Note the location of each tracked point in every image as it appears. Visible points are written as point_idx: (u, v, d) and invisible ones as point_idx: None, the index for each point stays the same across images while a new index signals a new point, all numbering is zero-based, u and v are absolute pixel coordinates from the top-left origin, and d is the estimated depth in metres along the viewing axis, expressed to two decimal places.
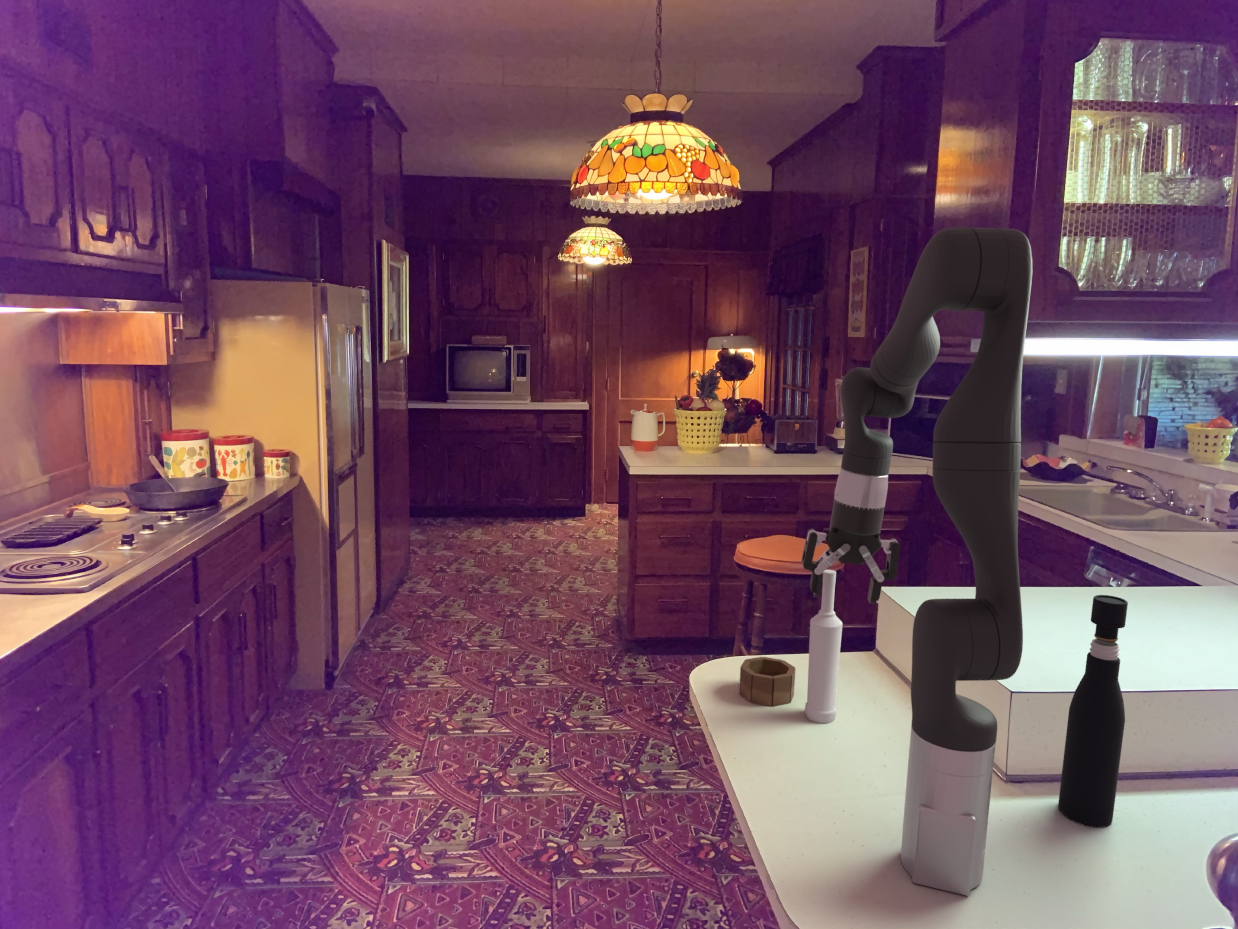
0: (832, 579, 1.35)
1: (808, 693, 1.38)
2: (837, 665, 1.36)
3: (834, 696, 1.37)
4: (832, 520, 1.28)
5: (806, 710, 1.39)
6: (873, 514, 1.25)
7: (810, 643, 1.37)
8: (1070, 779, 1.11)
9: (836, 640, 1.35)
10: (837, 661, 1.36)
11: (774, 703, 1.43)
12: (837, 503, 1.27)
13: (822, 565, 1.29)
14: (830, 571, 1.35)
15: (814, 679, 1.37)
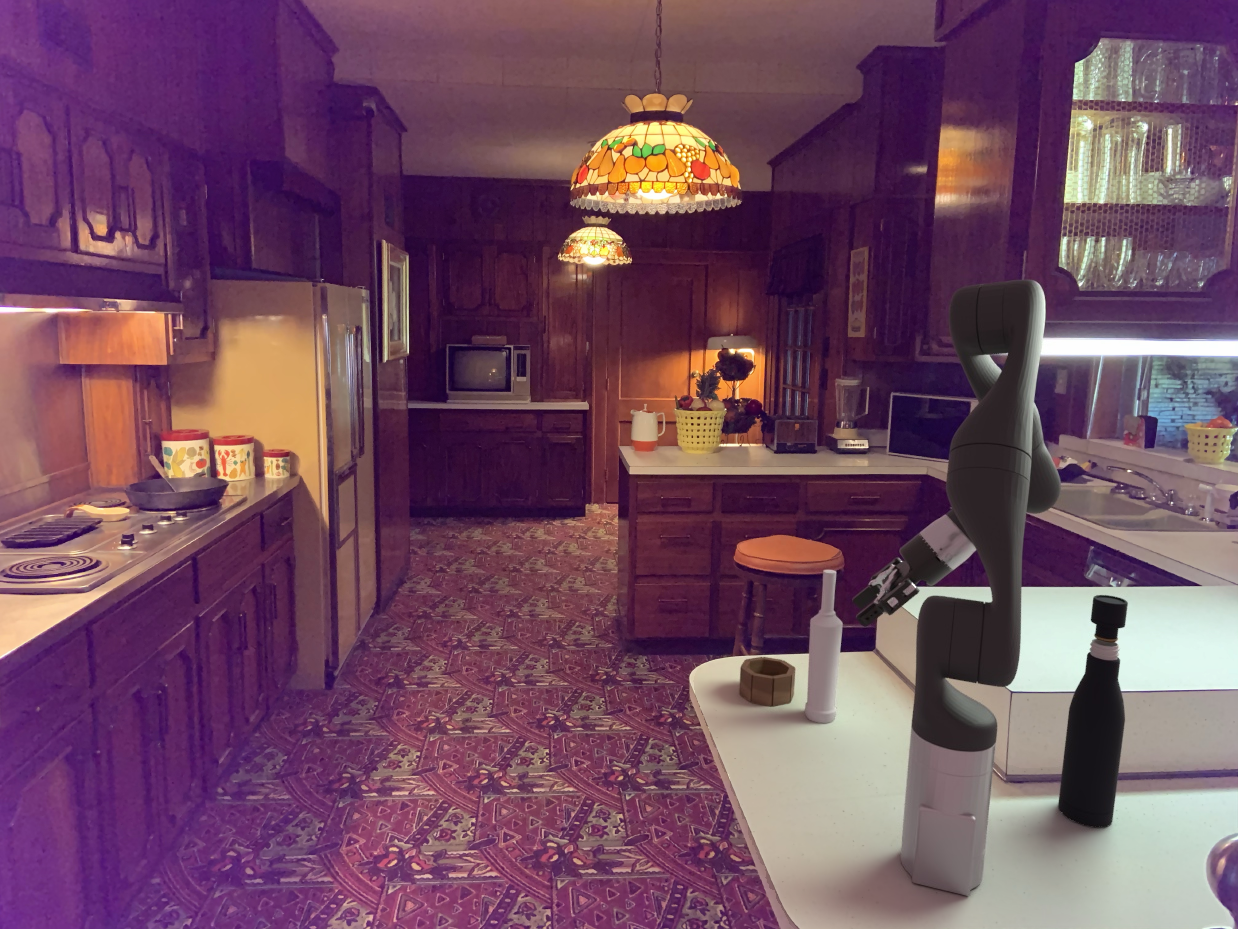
0: (832, 579, 1.35)
1: (808, 693, 1.38)
2: (837, 665, 1.36)
3: (834, 696, 1.37)
4: None
5: (806, 710, 1.39)
6: (918, 541, 1.30)
7: (810, 643, 1.37)
8: (1070, 779, 1.11)
9: (836, 640, 1.35)
10: (837, 661, 1.36)
11: (774, 703, 1.43)
12: None
13: (875, 579, 1.38)
14: (830, 571, 1.35)
15: (814, 679, 1.37)
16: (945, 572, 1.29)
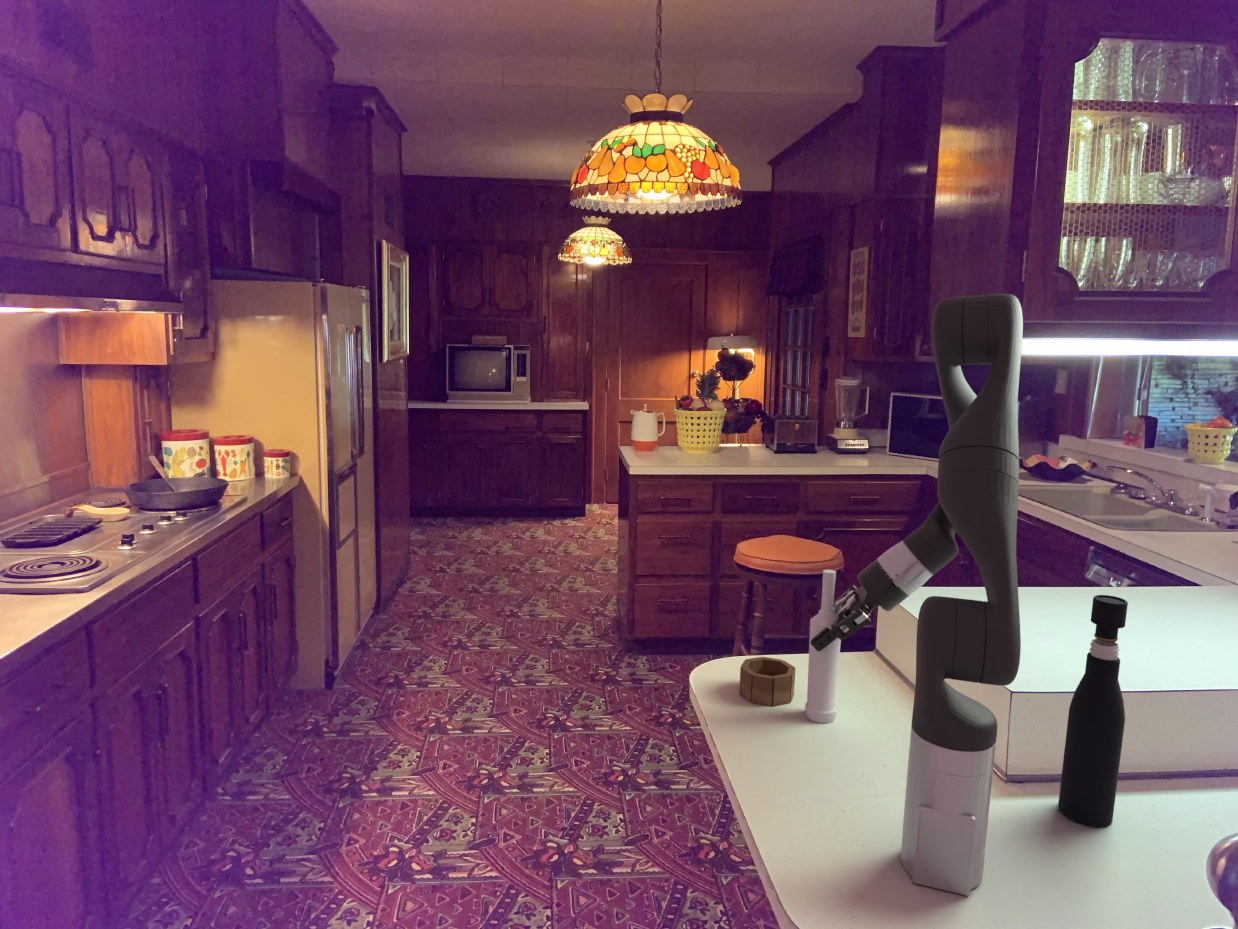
0: (832, 579, 1.35)
1: (808, 693, 1.38)
2: (837, 665, 1.36)
3: (834, 696, 1.37)
4: None
5: (806, 710, 1.39)
6: (875, 567, 1.32)
7: (810, 643, 1.37)
8: (1070, 779, 1.11)
9: (836, 640, 1.35)
10: (837, 661, 1.36)
11: (774, 703, 1.43)
12: None
13: (833, 608, 1.39)
14: (830, 571, 1.35)
15: (814, 679, 1.37)
16: (901, 598, 1.31)
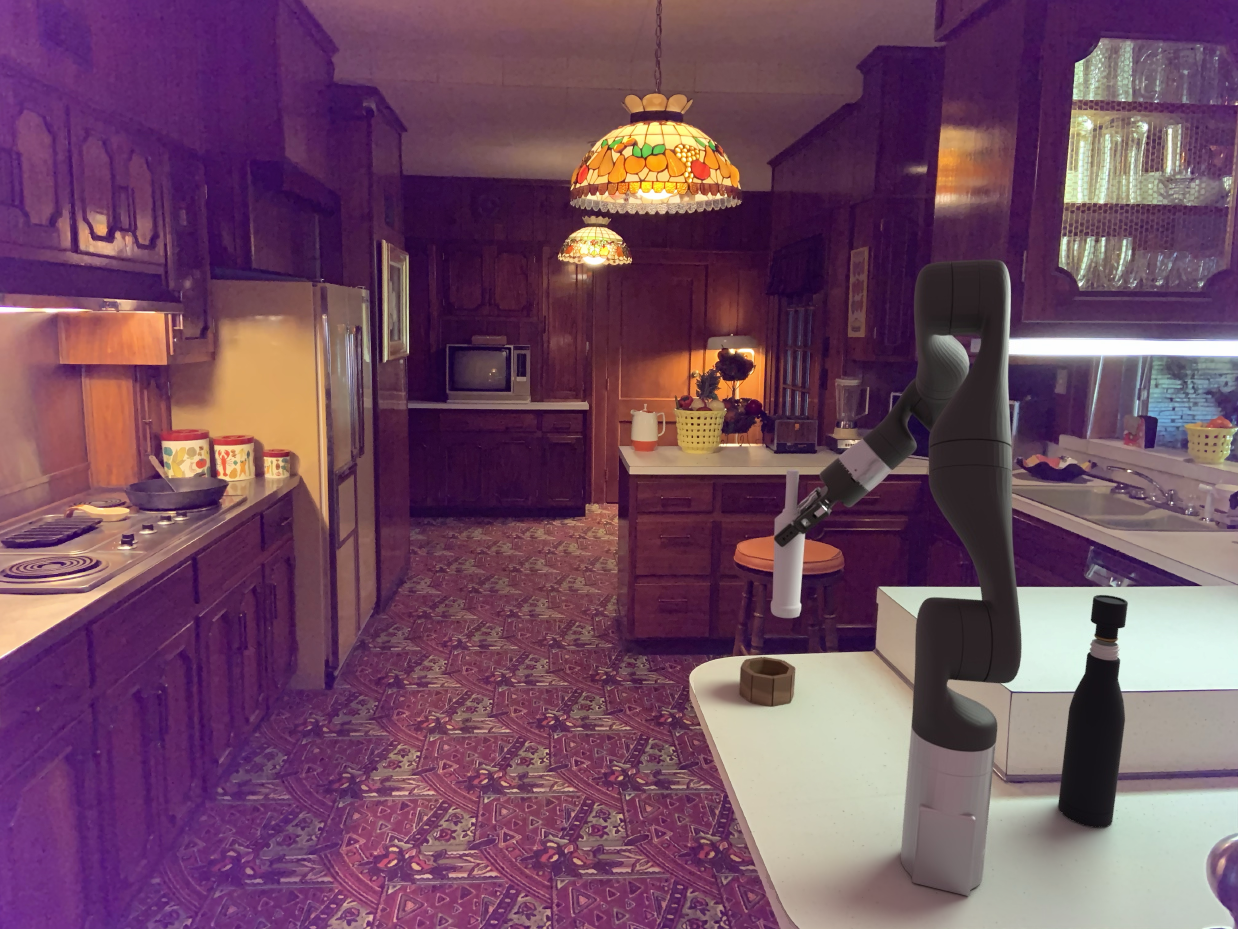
0: (795, 477, 1.39)
1: (773, 590, 1.43)
2: (801, 561, 1.41)
3: (798, 592, 1.42)
4: None
5: (771, 607, 1.43)
6: (836, 464, 1.37)
7: (775, 541, 1.42)
8: (1070, 779, 1.11)
9: (799, 536, 1.39)
10: (800, 557, 1.41)
11: (774, 703, 1.43)
12: None
13: (797, 508, 1.44)
14: (793, 470, 1.40)
15: (779, 576, 1.41)
16: (861, 493, 1.35)
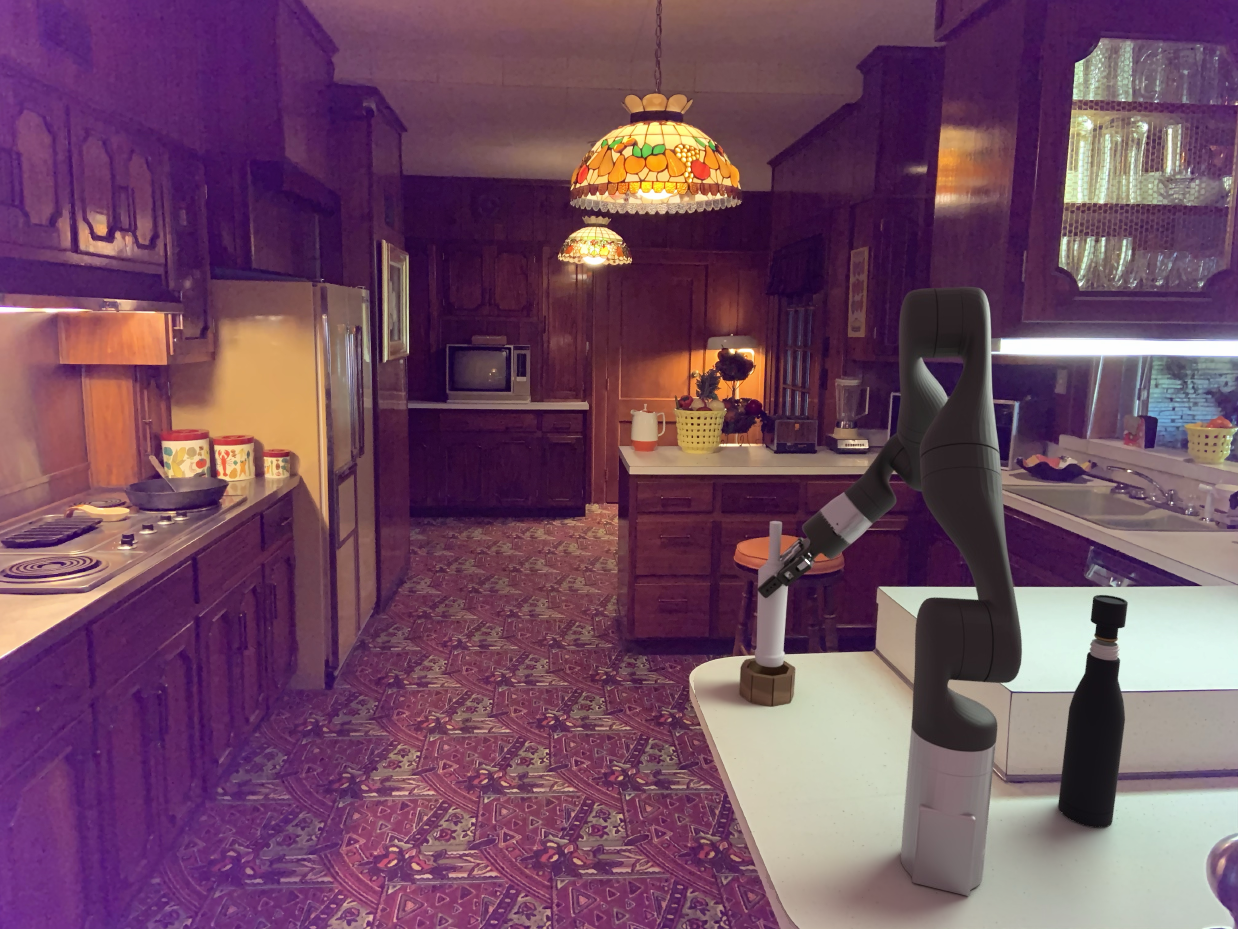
0: (778, 529, 1.42)
1: (757, 639, 1.46)
2: (784, 611, 1.43)
3: (781, 641, 1.44)
4: None
5: (755, 655, 1.46)
6: (818, 517, 1.39)
7: None
8: (1070, 779, 1.11)
9: (782, 587, 1.42)
10: (784, 608, 1.43)
11: (774, 703, 1.43)
12: None
13: (780, 559, 1.46)
14: (776, 522, 1.43)
15: (762, 625, 1.44)
16: (842, 546, 1.38)
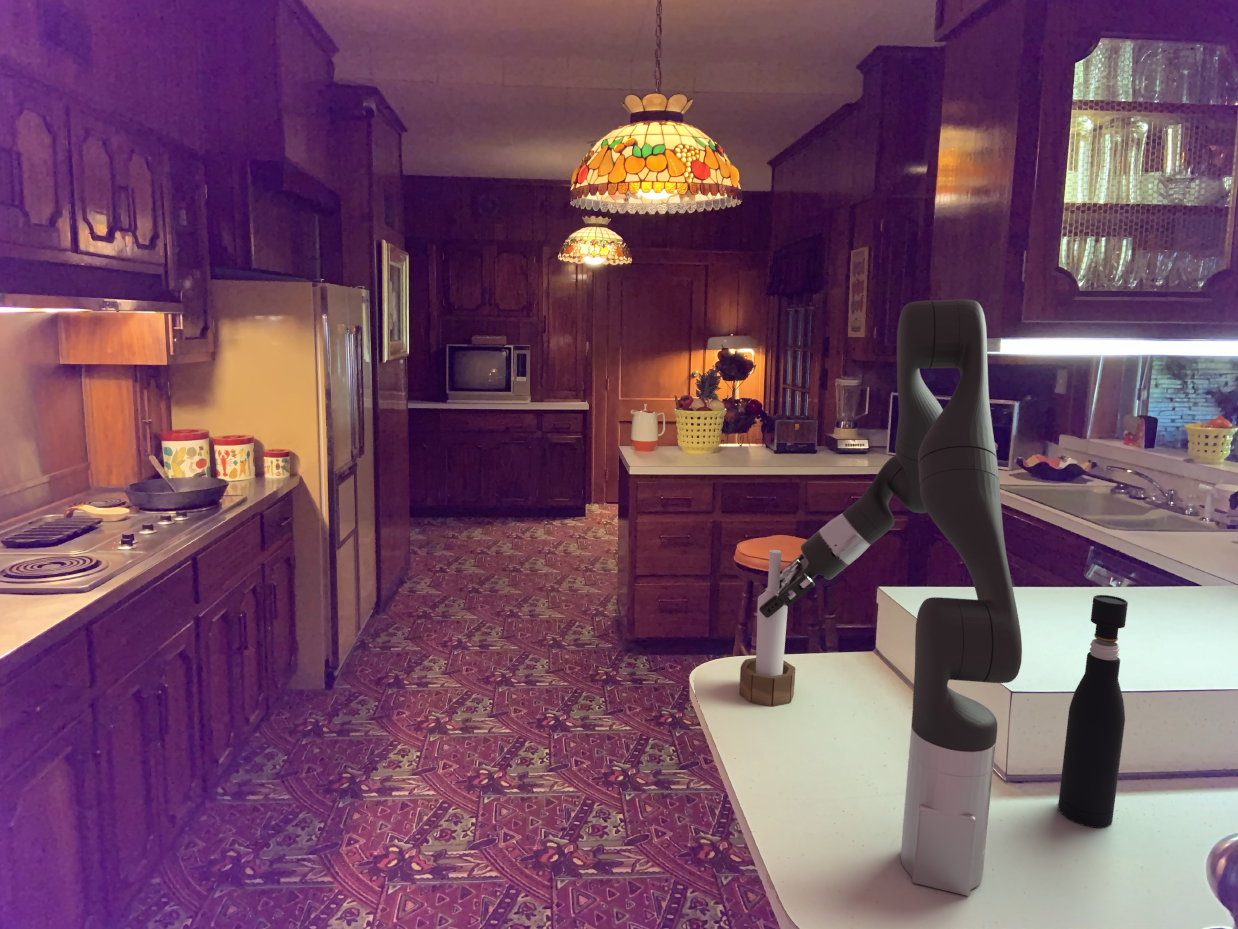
0: (777, 558, 1.42)
1: (756, 667, 1.46)
2: (783, 640, 1.44)
3: (780, 669, 1.45)
4: None
5: None
6: (816, 538, 1.40)
7: (758, 619, 1.45)
8: (1070, 779, 1.11)
9: (781, 616, 1.43)
10: (783, 636, 1.44)
11: (774, 703, 1.43)
12: None
13: (782, 574, 1.48)
14: (776, 551, 1.43)
15: (761, 653, 1.44)
16: (840, 567, 1.39)
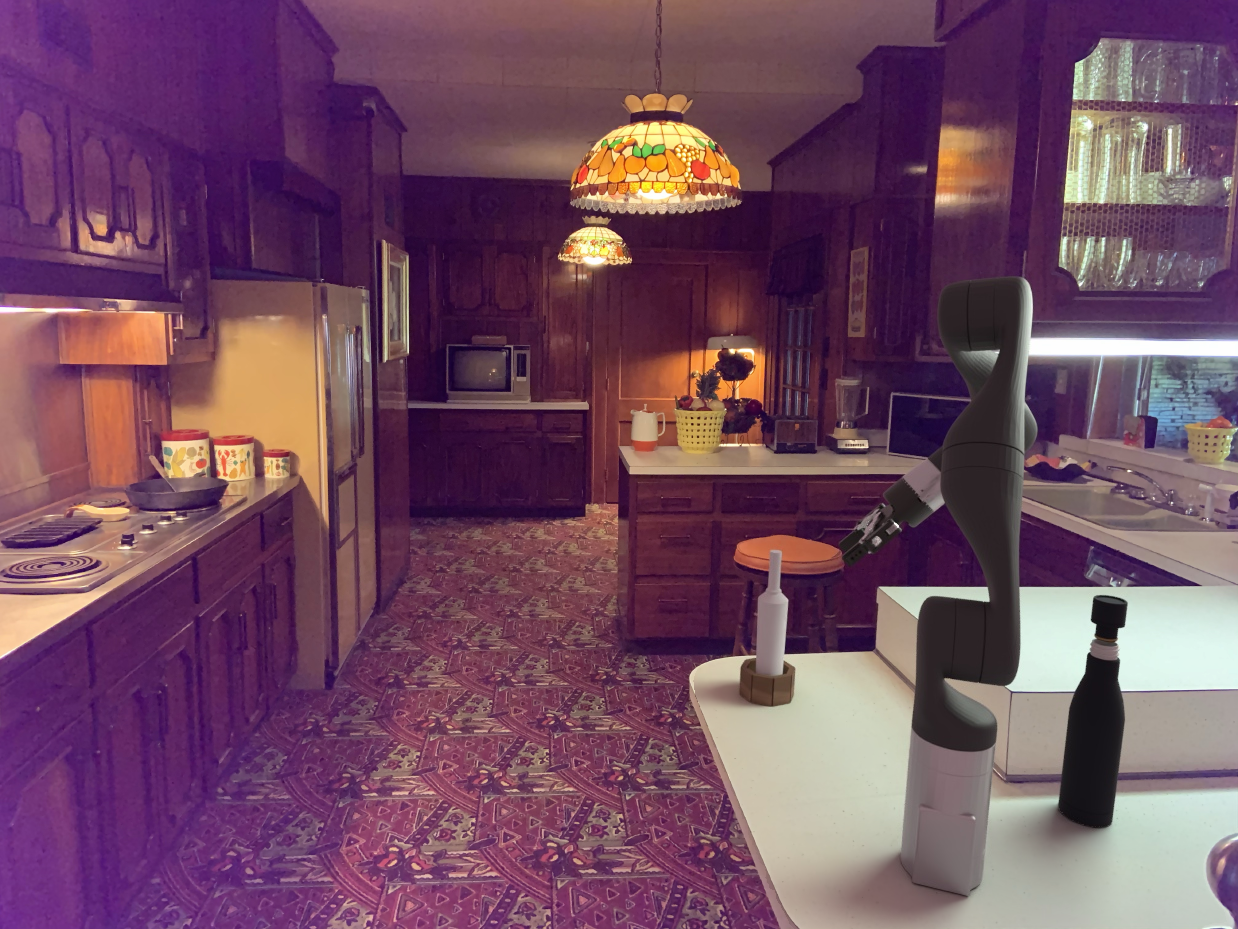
0: (778, 558, 1.43)
1: (756, 667, 1.46)
2: (783, 640, 1.44)
3: (780, 669, 1.45)
4: None
5: None
6: (901, 484, 1.36)
7: (758, 619, 1.45)
8: (1070, 779, 1.11)
9: (781, 616, 1.43)
10: (783, 636, 1.44)
11: (774, 703, 1.43)
12: None
13: (861, 524, 1.44)
14: (776, 551, 1.43)
15: (762, 653, 1.44)
16: (926, 513, 1.35)
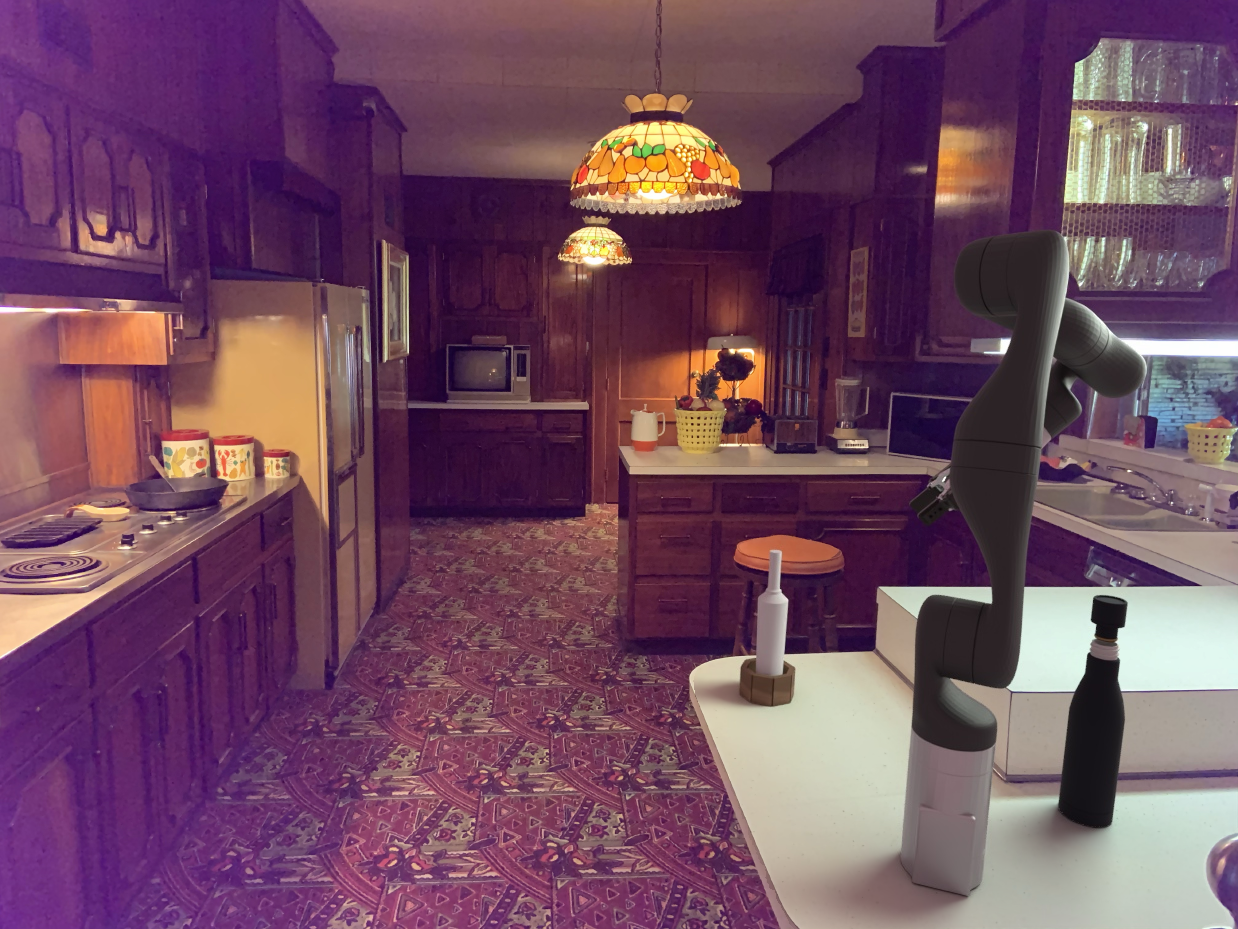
0: (778, 558, 1.42)
1: (756, 667, 1.46)
2: (783, 640, 1.44)
3: (780, 669, 1.45)
4: None
5: None
6: None
7: (758, 619, 1.45)
8: (1070, 779, 1.11)
9: (781, 616, 1.43)
10: (783, 636, 1.44)
11: (774, 703, 1.43)
12: None
13: (935, 480, 1.27)
14: (776, 551, 1.43)
15: (762, 653, 1.44)
16: None
